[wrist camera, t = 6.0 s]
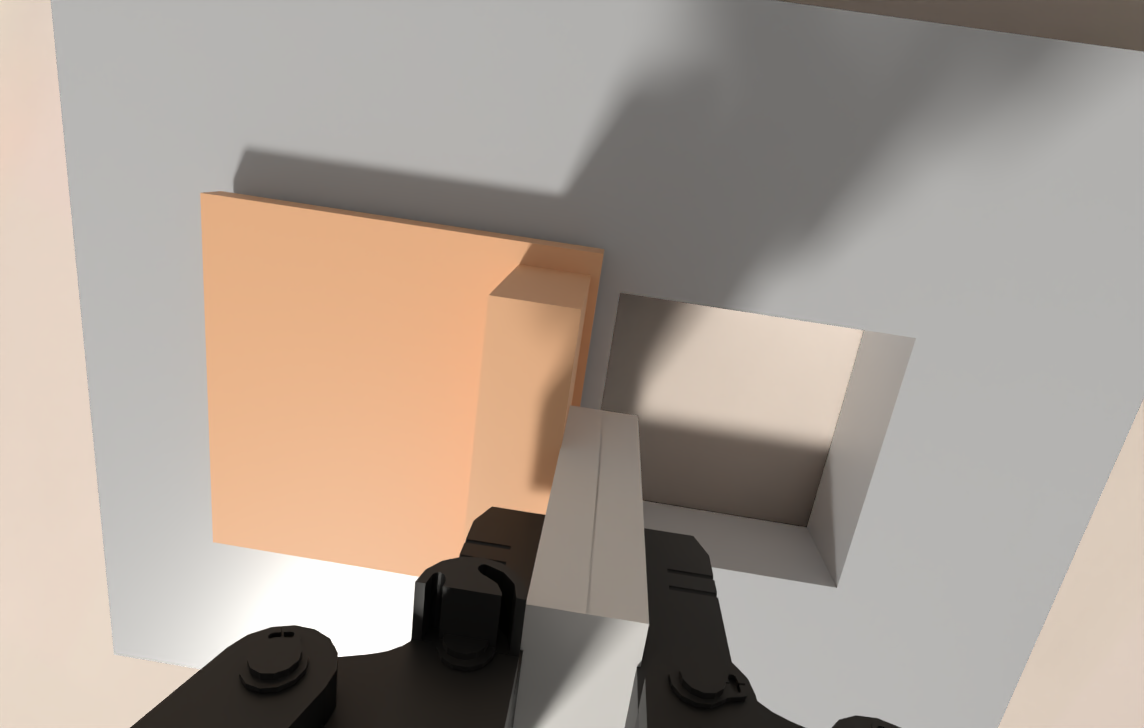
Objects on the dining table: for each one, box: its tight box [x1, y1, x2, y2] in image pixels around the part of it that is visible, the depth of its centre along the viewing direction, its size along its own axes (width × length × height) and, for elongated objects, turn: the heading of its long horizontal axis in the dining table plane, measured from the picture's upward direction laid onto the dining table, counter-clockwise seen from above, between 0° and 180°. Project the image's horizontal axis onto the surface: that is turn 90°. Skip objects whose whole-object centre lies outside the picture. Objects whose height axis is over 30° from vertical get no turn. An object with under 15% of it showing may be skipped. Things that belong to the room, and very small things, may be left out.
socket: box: [51, 0, 1144, 728], centre depth 18 cm, size 20×26×3 cm
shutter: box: [200, 191, 604, 577], centre depth 14 cm, size 9×9×4 cm
